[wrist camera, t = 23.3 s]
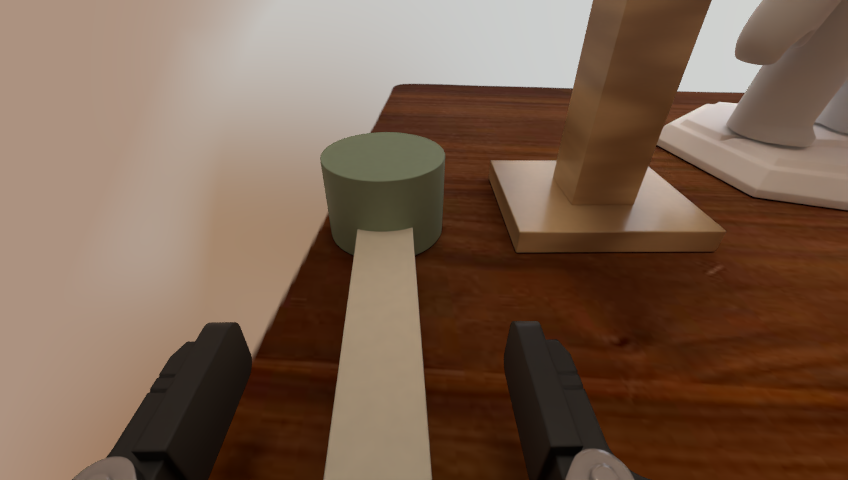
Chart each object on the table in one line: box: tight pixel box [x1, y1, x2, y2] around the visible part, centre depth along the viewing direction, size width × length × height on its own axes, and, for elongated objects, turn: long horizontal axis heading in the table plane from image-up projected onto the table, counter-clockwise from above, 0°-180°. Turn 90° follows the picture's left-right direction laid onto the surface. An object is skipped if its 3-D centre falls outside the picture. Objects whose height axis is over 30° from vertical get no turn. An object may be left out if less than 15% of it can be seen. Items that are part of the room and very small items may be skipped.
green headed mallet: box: [320, 132, 445, 480], centre depth 18 cm, size 7×20×5 cm, turn 4°
